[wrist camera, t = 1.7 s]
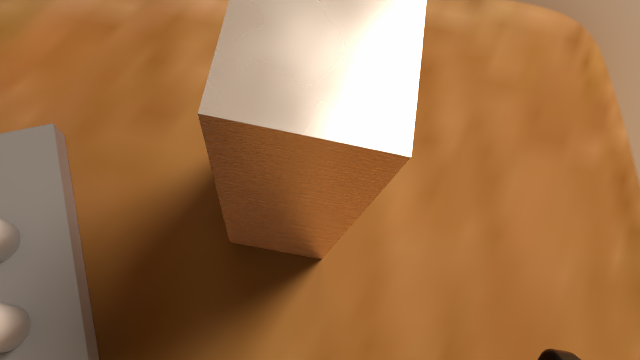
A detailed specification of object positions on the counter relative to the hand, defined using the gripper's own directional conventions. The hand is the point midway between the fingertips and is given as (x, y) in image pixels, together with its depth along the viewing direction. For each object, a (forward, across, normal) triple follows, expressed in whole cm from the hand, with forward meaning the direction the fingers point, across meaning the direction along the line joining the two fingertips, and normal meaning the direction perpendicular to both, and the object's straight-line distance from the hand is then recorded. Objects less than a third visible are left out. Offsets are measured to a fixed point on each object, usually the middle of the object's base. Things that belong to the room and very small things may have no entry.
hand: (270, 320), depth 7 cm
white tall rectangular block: (+13, 0, +4) cm, 13 cm away
